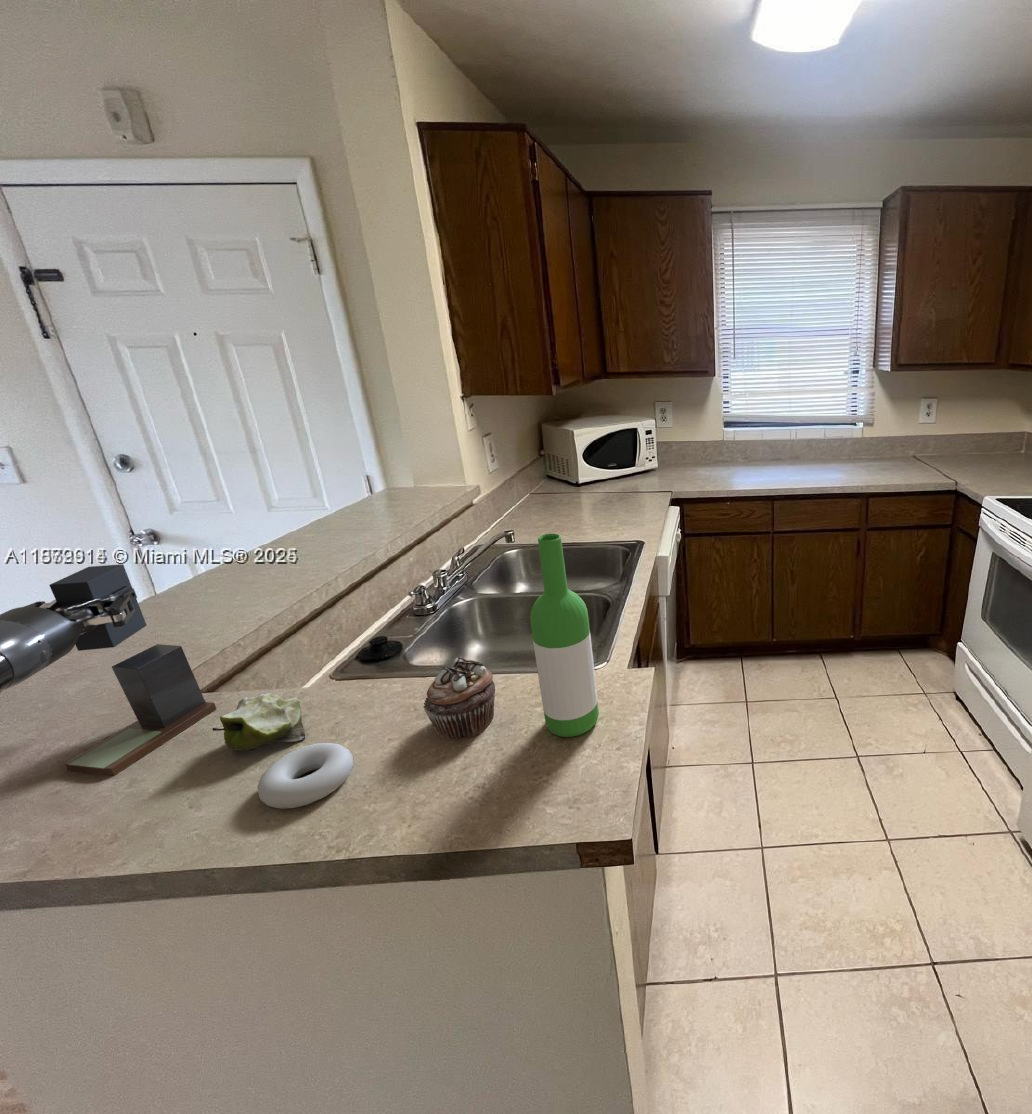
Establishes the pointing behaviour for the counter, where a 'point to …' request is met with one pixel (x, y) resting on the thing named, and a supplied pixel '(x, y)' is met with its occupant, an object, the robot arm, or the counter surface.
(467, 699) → the cupcake
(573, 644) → the wine bottle
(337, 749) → the donut
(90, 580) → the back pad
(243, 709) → the fruit
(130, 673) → the grey block on board
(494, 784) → the counter surface
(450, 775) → the counter surface
